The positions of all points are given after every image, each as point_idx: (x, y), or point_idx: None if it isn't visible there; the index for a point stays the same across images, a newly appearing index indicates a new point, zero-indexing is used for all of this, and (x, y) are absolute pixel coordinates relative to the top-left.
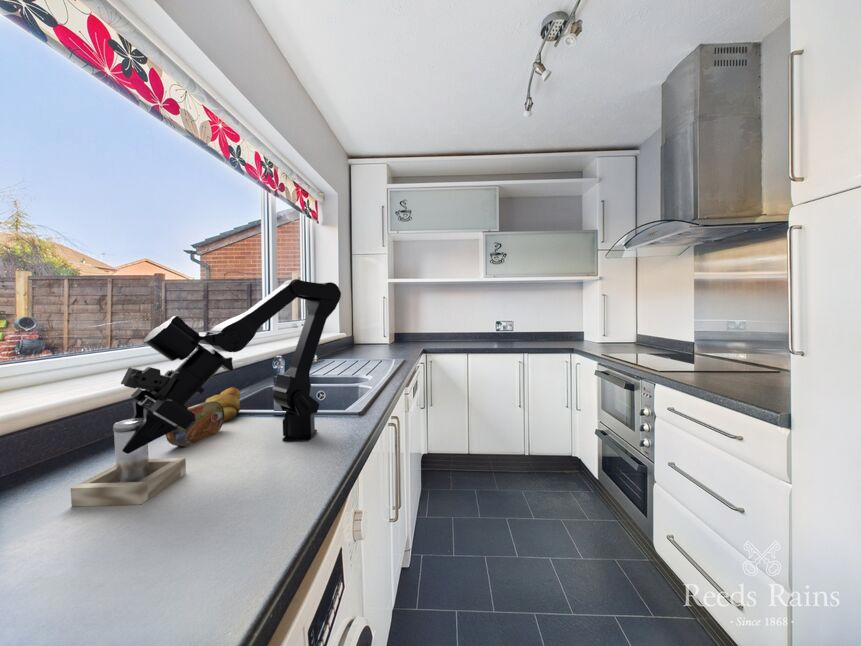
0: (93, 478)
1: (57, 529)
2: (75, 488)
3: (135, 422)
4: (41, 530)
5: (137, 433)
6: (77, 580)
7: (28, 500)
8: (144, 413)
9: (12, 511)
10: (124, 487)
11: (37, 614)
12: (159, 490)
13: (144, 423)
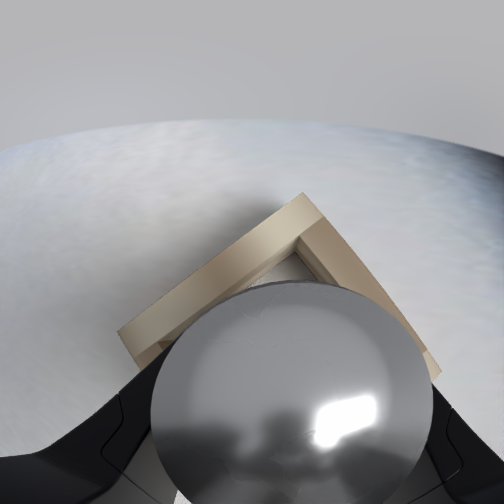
0: (337, 254)
1: (183, 179)
2: (291, 202)
3: (216, 453)
4: (210, 158)
5: (120, 396)
6: (11, 195)
7: (425, 163)
8: (18, 492)
9: (382, 135)
10: (155, 302)
11: (2, 165)
12: None
13: (58, 448)
